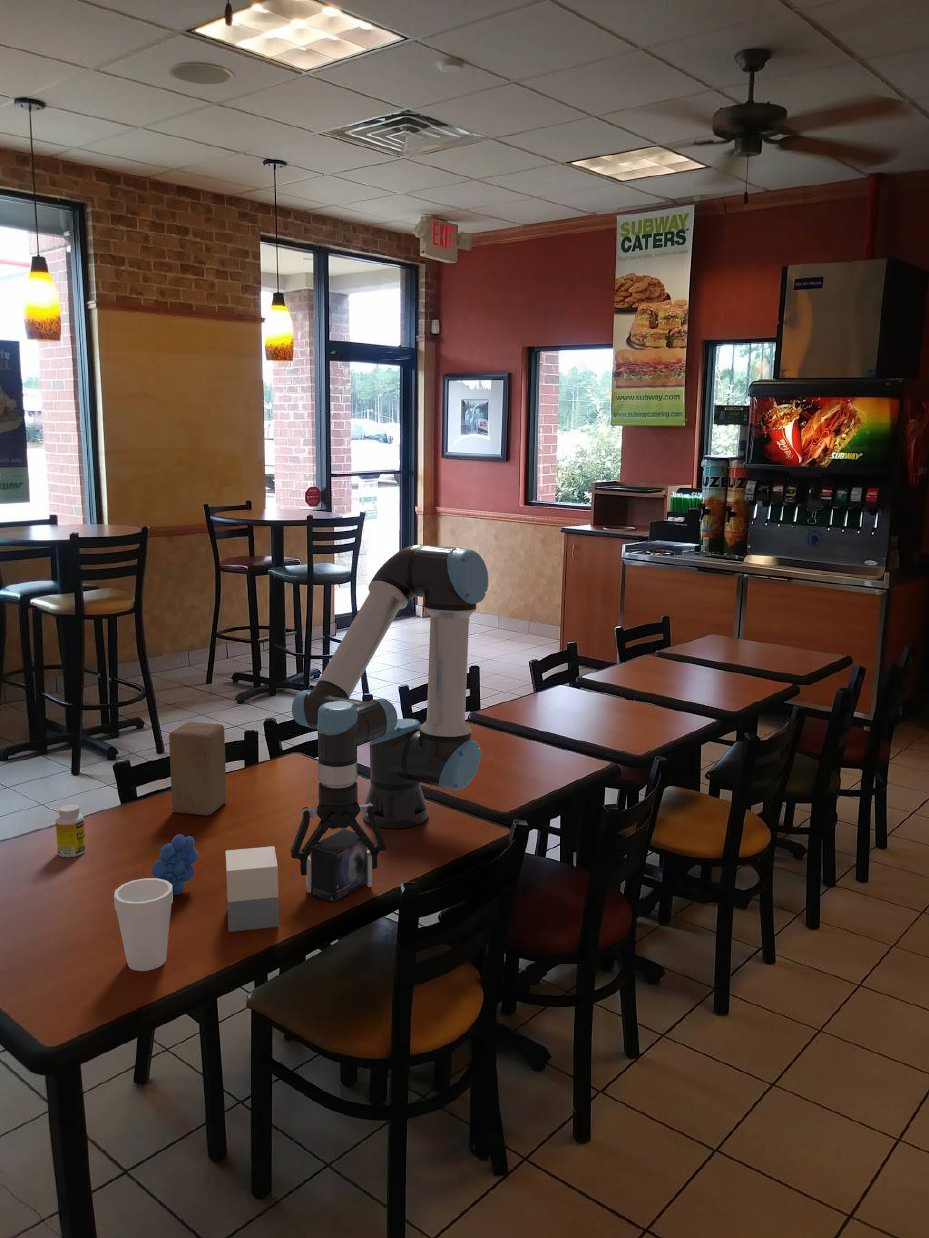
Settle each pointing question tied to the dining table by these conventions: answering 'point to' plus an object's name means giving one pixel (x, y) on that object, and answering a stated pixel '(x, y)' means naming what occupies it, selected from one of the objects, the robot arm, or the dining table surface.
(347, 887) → the small box
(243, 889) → the tower top
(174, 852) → the grapes
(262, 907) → the tower base
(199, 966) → the dining table surface
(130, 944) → the foam cup
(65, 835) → the supplement bottle
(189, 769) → the block
